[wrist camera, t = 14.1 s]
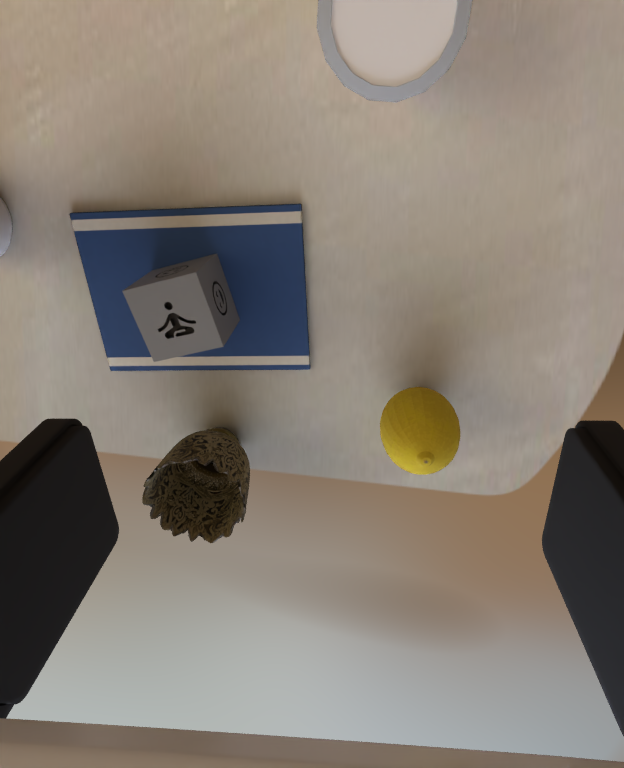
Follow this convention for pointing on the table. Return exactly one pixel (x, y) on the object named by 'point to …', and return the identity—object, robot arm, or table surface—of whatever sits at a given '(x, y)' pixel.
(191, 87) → the table surface
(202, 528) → the cup
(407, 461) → the lemon
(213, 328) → the dice cube
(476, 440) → the table surface
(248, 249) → the cloth
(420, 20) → the white tapered cylinder
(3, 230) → the energy drink can
